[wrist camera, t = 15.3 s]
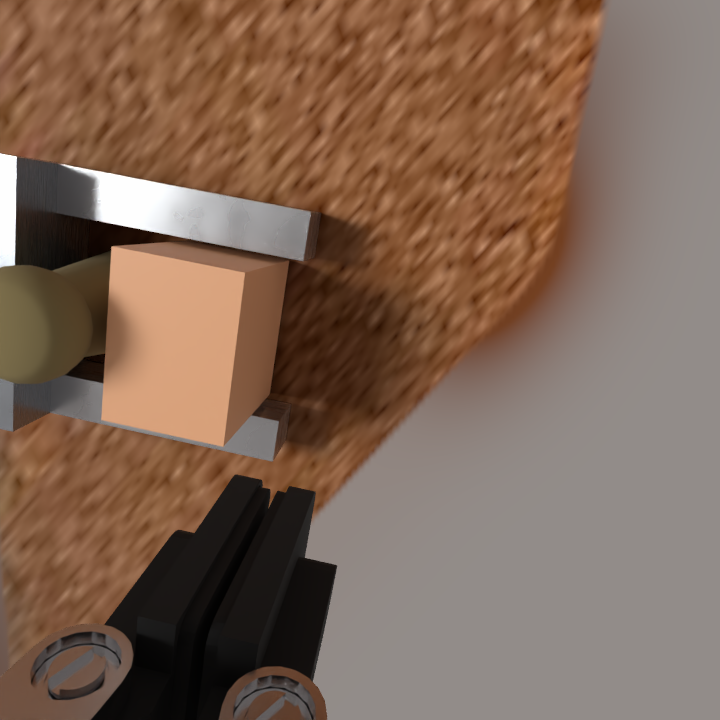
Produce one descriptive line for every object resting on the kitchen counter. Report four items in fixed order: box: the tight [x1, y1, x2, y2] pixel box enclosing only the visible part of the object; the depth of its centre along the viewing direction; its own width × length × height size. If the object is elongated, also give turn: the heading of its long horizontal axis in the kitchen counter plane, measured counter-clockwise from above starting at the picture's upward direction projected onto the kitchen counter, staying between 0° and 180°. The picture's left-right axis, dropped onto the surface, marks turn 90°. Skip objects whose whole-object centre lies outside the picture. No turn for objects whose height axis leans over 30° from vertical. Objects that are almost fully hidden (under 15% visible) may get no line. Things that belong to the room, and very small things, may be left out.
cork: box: [0, 251, 111, 384], centre depth 27 cm, size 6×6×11 cm
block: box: [101, 241, 289, 447], centre depth 28 cm, size 8×6×8 cm
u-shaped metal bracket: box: [0, 153, 321, 461], centre depth 29 cm, size 14×16×6 cm
